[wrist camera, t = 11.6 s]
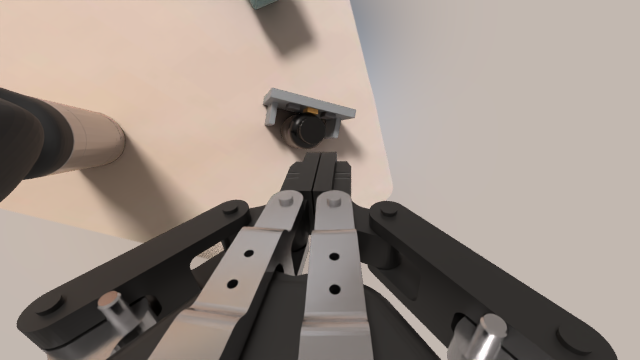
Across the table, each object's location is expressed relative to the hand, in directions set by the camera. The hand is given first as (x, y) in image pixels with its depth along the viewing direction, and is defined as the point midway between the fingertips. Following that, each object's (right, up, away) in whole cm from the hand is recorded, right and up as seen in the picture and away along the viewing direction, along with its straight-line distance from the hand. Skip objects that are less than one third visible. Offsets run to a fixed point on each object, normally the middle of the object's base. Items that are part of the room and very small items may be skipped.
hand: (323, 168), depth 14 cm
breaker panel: (-5, +12, +44) cm, 46 cm away
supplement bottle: (-5, +10, +44) cm, 45 cm away
